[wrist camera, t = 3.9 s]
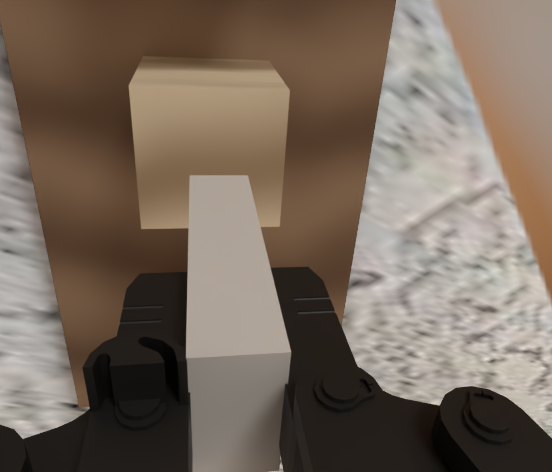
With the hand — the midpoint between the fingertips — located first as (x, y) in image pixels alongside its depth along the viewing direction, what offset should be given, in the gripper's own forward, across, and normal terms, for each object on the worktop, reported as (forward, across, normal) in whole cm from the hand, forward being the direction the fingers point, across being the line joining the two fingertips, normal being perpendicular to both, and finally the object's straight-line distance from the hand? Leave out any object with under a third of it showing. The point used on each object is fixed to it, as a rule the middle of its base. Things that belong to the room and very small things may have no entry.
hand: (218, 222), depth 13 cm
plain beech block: (+9, 0, 0) cm, 9 cm away
